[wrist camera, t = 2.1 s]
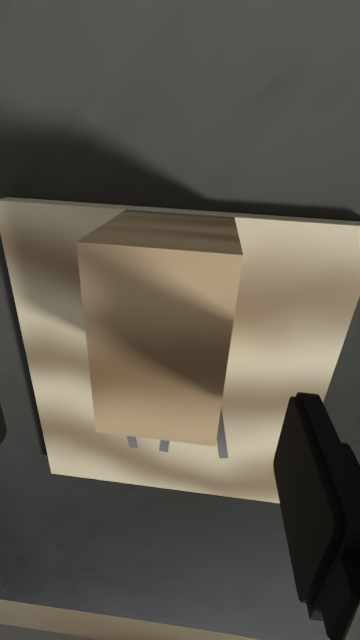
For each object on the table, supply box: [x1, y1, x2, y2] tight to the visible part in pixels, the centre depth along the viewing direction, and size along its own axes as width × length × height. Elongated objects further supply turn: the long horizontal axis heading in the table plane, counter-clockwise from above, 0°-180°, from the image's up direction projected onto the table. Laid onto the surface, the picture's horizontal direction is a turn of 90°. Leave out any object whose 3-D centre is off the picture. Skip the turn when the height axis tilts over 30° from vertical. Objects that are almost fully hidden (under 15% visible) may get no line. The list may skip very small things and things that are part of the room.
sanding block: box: [76, 209, 243, 446], centre depth 14 cm, size 8×5×6 cm, turn 177°
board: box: [0, 197, 360, 503], centre depth 20 cm, size 20×18×1 cm
